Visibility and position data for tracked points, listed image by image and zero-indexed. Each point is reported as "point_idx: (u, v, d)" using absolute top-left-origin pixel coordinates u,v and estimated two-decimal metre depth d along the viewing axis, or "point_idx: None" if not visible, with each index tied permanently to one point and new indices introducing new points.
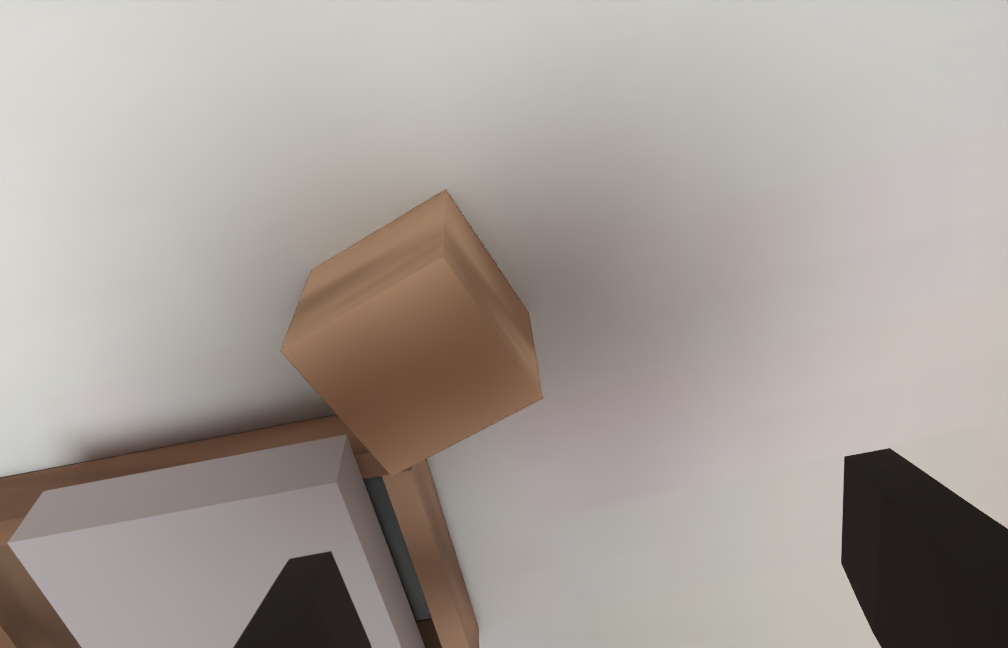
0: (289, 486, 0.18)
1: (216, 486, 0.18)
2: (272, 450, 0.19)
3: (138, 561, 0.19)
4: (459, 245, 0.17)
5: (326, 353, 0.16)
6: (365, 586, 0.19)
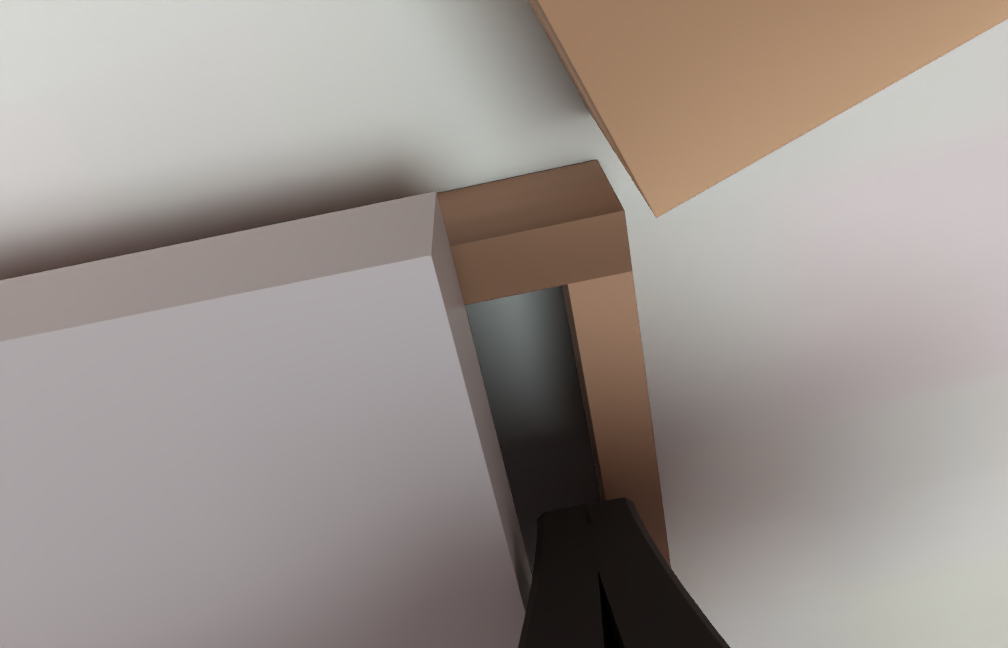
0: (313, 270, 0.07)
1: (142, 287, 0.08)
2: (272, 231, 0.09)
3: None
4: None
5: None
6: (477, 529, 0.09)
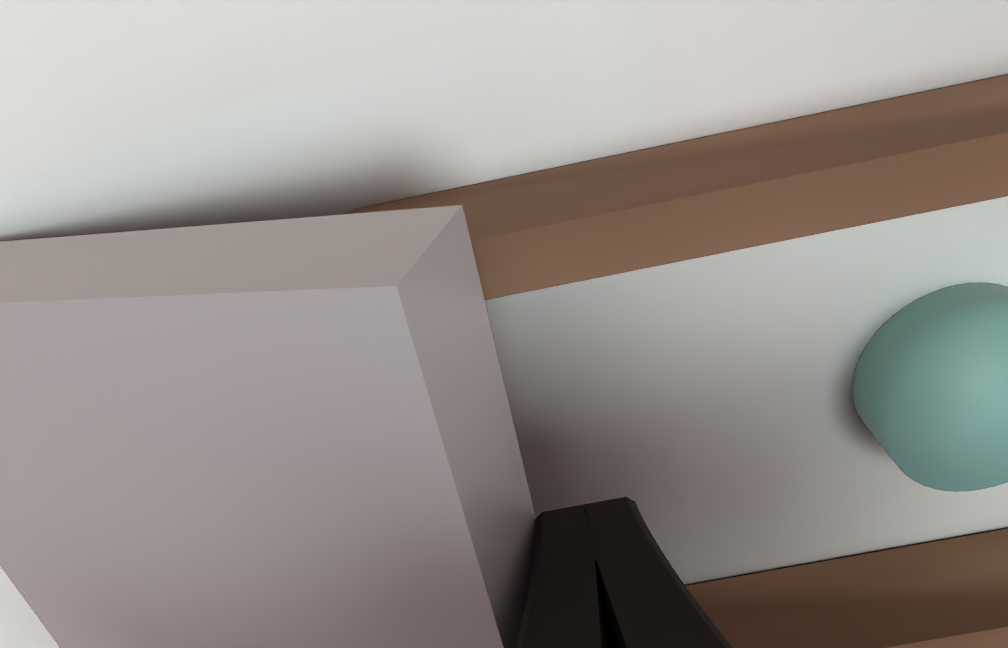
0: (293, 281, 0.07)
1: (167, 265, 0.08)
2: (308, 222, 0.09)
3: (23, 397, 0.09)
4: None
5: None
6: (453, 558, 0.08)
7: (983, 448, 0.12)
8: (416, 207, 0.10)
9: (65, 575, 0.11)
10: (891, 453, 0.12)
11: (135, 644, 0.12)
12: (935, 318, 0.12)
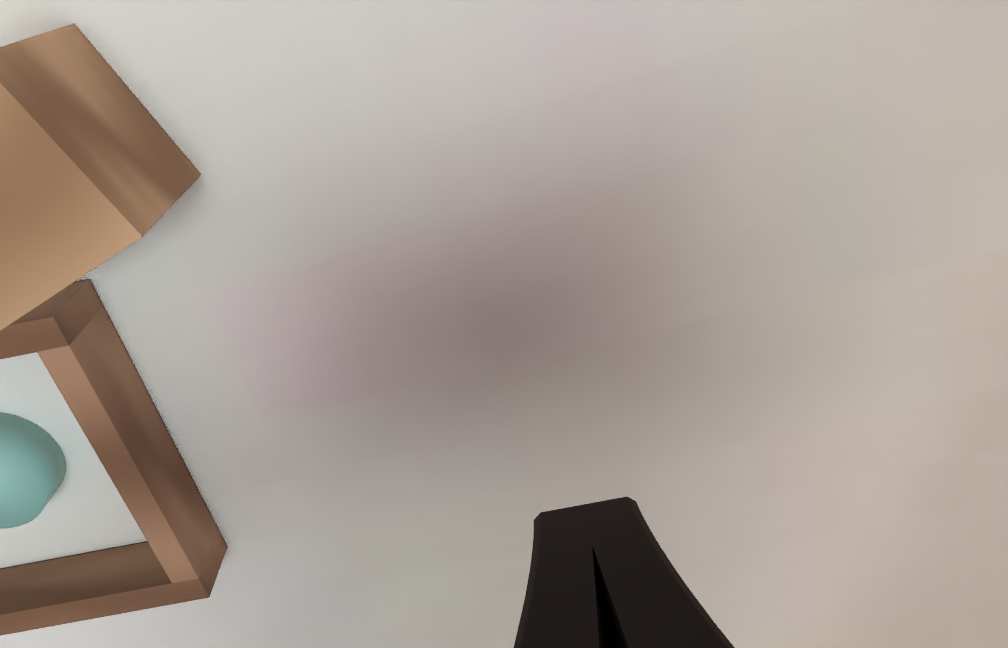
0: None
1: None
2: None
3: None
4: (49, 67, 0.15)
5: None
6: None
7: None
8: None
9: None
10: None
11: None
12: None
